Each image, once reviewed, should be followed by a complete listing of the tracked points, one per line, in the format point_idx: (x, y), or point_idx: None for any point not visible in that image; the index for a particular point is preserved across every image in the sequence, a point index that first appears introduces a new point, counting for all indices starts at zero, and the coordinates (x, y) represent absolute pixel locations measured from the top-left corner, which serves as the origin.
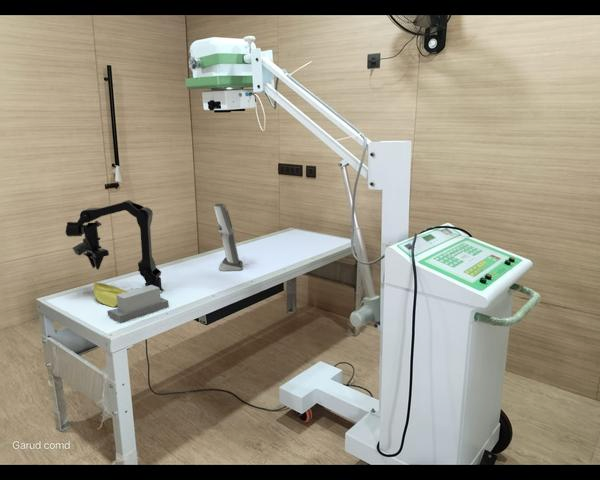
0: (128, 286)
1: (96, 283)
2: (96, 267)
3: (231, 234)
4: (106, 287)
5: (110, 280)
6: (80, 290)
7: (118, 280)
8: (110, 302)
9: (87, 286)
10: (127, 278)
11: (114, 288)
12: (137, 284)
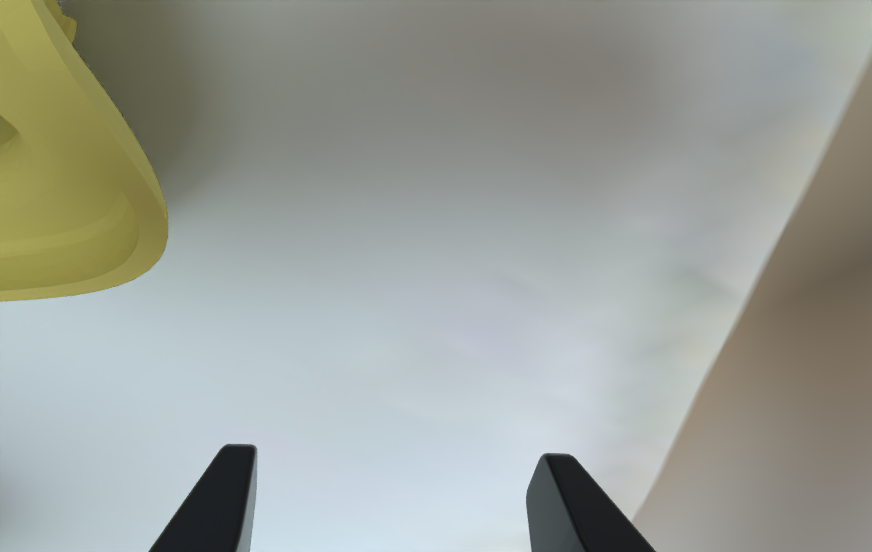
0: (270, 433)
1: (19, 52)
2: (184, 507)
3: None
4: (90, 191)
5: (660, 426)
6: (773, 18)
7: None
8: None
9: (792, 184)
10: None
11: (29, 263)
12: None
